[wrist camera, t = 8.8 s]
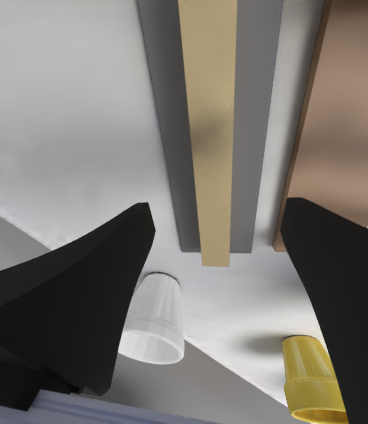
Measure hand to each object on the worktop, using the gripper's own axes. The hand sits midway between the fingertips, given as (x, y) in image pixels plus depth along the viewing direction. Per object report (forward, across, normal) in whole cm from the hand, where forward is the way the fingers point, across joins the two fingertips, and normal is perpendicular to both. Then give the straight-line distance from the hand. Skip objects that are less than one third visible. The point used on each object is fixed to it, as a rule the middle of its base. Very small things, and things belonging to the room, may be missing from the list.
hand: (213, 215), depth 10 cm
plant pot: (+9, -16, +37) cm, 41 cm away
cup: (+9, +9, +20) cm, 24 cm away
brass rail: (+9, 0, 0) cm, 9 cm away
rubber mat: (+9, 0, 0) cm, 9 cm away
